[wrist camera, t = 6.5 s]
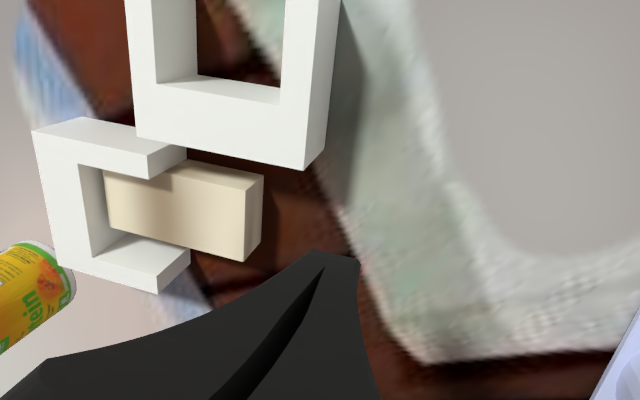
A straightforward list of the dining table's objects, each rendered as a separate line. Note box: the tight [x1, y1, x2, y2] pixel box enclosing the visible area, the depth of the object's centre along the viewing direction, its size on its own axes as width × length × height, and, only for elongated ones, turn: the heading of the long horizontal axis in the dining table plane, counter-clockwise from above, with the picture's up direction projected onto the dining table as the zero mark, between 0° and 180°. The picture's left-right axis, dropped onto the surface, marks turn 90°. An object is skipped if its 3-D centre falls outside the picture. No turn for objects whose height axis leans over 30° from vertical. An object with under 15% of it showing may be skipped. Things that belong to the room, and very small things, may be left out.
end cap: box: [31, 117, 191, 294], centre depth 23 cm, size 6×8×3 cm
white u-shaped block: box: [125, 0, 341, 171], centre depth 18 cm, size 6×8×3 cm
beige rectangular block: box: [102, 159, 264, 262], centre depth 22 cm, size 8×4×2 cm, turn 83°
